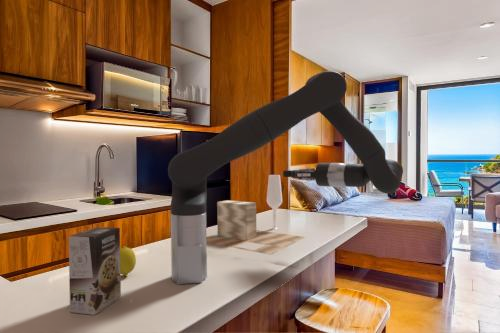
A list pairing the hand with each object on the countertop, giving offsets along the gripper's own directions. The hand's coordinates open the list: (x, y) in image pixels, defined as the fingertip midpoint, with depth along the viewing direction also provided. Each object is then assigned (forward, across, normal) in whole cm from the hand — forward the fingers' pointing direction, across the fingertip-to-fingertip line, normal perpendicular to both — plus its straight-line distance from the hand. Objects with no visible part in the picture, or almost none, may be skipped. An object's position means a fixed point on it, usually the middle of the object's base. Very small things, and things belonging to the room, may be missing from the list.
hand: (284, 173), depth 114 cm
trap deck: (+14, 0, +26) cm, 29 cm away
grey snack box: (+14, +61, +26) cm, 68 cm away
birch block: (+21, 0, +24) cm, 32 cm away
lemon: (+24, +46, +26) cm, 59 cm away
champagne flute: (+15, -20, +26) cm, 36 cm away
